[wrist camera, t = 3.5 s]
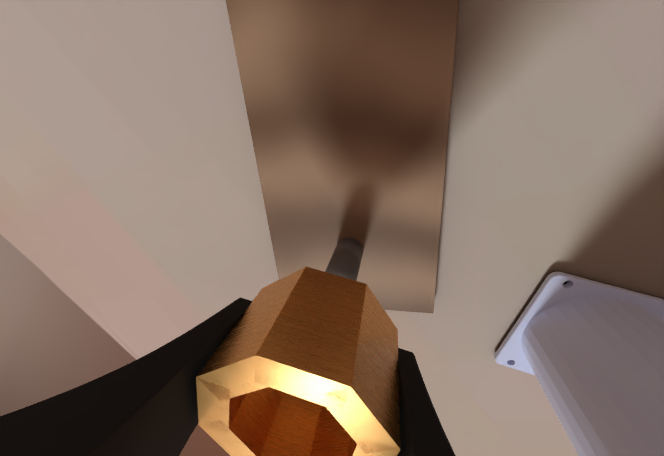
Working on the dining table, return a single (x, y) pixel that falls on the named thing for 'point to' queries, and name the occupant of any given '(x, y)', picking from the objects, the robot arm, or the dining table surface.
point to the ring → (305, 373)
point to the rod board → (351, 135)
